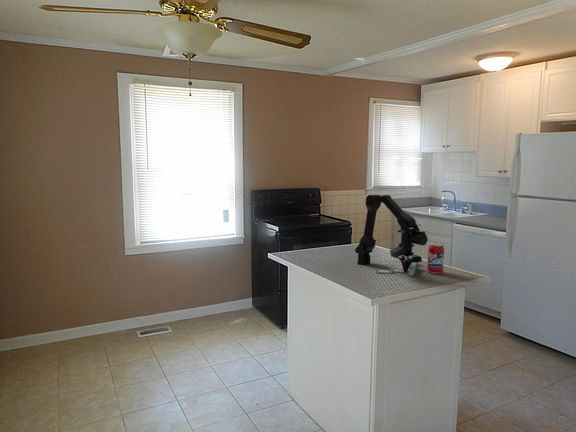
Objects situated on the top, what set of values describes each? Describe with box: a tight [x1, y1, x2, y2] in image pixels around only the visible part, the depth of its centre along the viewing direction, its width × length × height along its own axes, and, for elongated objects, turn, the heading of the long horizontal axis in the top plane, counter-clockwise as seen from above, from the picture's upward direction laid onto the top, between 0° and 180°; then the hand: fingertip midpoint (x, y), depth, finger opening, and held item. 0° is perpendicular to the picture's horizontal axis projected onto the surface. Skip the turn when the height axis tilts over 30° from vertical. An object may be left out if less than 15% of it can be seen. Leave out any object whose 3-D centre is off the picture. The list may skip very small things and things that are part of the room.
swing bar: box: [408, 262, 419, 277], centre depth 218 cm, size 20×4×4 cm, turn 159°
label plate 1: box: [375, 268, 393, 275], centre depth 219 cm, size 8×7×1 cm
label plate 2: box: [390, 268, 409, 274], centre depth 221 cm, size 8×7×1 cm
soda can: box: [426, 242, 445, 275], centre depth 217 cm, size 8×8×15 cm
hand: (405, 272), depth 215 cm, fingers closed
